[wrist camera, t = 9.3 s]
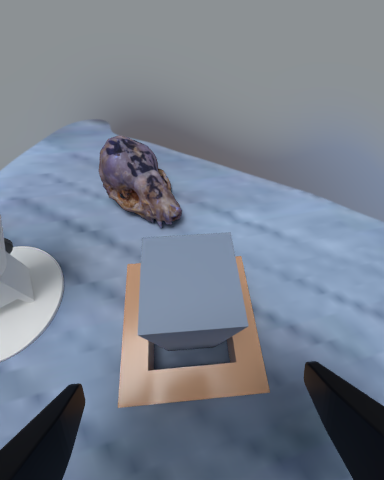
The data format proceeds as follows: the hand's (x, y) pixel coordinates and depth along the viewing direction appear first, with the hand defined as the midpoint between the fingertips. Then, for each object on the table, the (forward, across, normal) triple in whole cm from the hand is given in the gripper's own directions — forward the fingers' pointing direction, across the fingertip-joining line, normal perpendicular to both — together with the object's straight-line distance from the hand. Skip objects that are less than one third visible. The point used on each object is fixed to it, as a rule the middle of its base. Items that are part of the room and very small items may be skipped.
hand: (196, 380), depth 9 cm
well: (+10, 0, +5) cm, 12 cm away
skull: (+22, +4, -6) cm, 23 cm away
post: (+10, 0, +5) cm, 12 cm away
